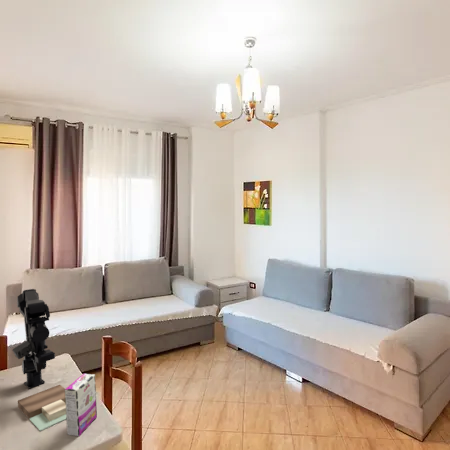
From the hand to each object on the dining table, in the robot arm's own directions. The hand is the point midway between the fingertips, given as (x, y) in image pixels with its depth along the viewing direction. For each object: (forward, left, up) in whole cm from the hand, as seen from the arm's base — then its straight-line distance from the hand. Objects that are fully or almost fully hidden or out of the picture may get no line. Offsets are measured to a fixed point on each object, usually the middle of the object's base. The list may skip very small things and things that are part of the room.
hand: (38, 371), depth 141 cm
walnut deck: (+6, 0, -11) cm, 13 cm away
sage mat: (+17, 0, -11) cm, 20 cm away
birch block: (+16, 0, -11) cm, 19 cm away
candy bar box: (+30, +3, -11) cm, 32 cm away
